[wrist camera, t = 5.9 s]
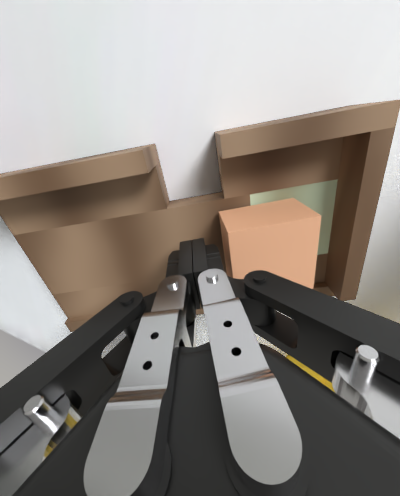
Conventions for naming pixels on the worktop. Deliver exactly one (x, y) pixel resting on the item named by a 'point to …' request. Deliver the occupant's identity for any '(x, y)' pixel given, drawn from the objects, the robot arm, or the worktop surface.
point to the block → (272, 240)
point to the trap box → (199, 204)
